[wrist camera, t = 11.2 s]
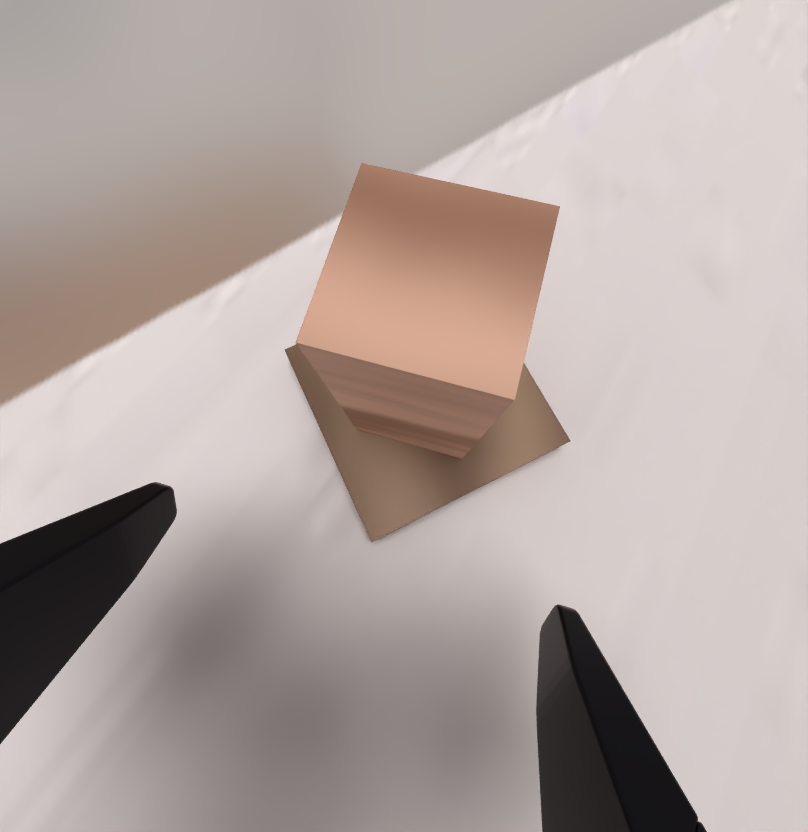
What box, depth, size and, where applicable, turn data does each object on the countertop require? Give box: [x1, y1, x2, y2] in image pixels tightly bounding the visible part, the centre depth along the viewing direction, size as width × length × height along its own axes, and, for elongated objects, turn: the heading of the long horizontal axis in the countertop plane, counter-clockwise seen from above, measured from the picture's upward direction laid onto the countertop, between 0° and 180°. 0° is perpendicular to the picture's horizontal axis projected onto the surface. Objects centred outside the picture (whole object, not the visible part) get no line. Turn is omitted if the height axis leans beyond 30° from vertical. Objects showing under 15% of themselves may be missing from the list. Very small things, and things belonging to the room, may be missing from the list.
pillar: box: [296, 163, 560, 459], centre depth 14 cm, size 5×5×10 cm
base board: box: [285, 344, 570, 542], centre depth 20 cm, size 10×10×2 cm
